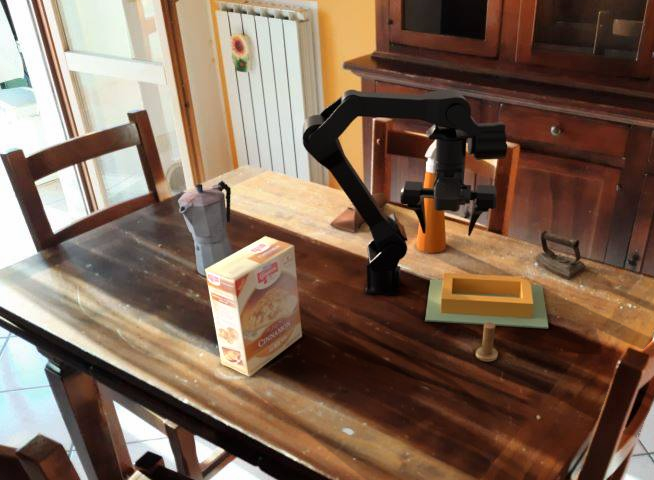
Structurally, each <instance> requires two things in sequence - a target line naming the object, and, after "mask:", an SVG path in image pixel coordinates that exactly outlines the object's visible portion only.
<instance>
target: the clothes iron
mask: <svg viewBox="0 0 654 480" xmlns="http://www.w3.org/2000/svg"><path fill="white" fill-rule="evenodd" d="M547 241H548V242H550V243H551V242H552V243H555V244H558V245H561V246H565V247H568V248H571V249H572V250H573V252H574V257H575V258H573V257H569V256H565V255H562V254H556V253H555V252H554V251H553V250H551V249H550V248H549V247H548V242H547ZM540 243H541V248H542V251H543V252H539V253H537V255H536V256H535V260H536V261H537V262H538V264H539V265H540V266H542V267H543V268H544V269H545V270H547V271H549V272H550V273H552V274H555V275H556V276H559V277H562V278H563V279H566V280H571V279H572V278H574V277H576V276H577V275H579V274H580V273H581V272H583V271H584V270H586V268H587V267H586V264H585V263H584V262H583V261H582V260H581V258H582V257H581V250H580V240H579V239H572V238H569V237H565V236H562V235H559V234H554V233H551V232H548V231H547V230H542V232H541V233H540Z"/></svg>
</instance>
